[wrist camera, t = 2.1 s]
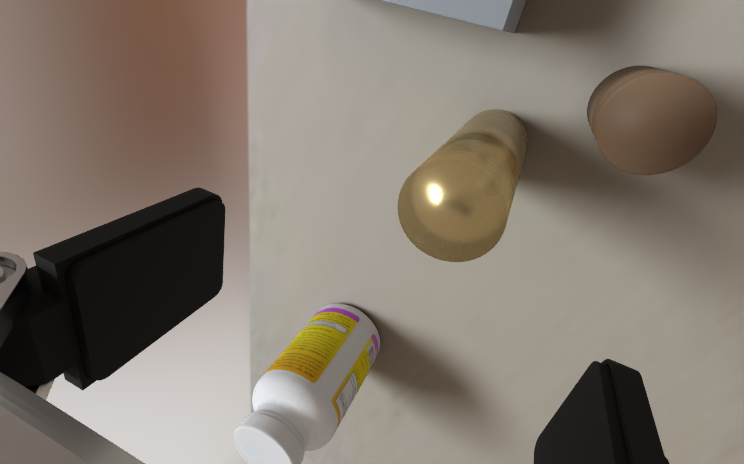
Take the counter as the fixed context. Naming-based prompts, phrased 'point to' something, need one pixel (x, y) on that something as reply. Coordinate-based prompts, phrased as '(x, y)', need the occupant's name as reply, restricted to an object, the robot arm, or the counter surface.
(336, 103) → the counter surface
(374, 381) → the counter surface
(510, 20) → the socket block
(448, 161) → the tall peg
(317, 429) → the supplement bottle
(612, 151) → the short peg
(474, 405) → the counter surface
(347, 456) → the counter surface
